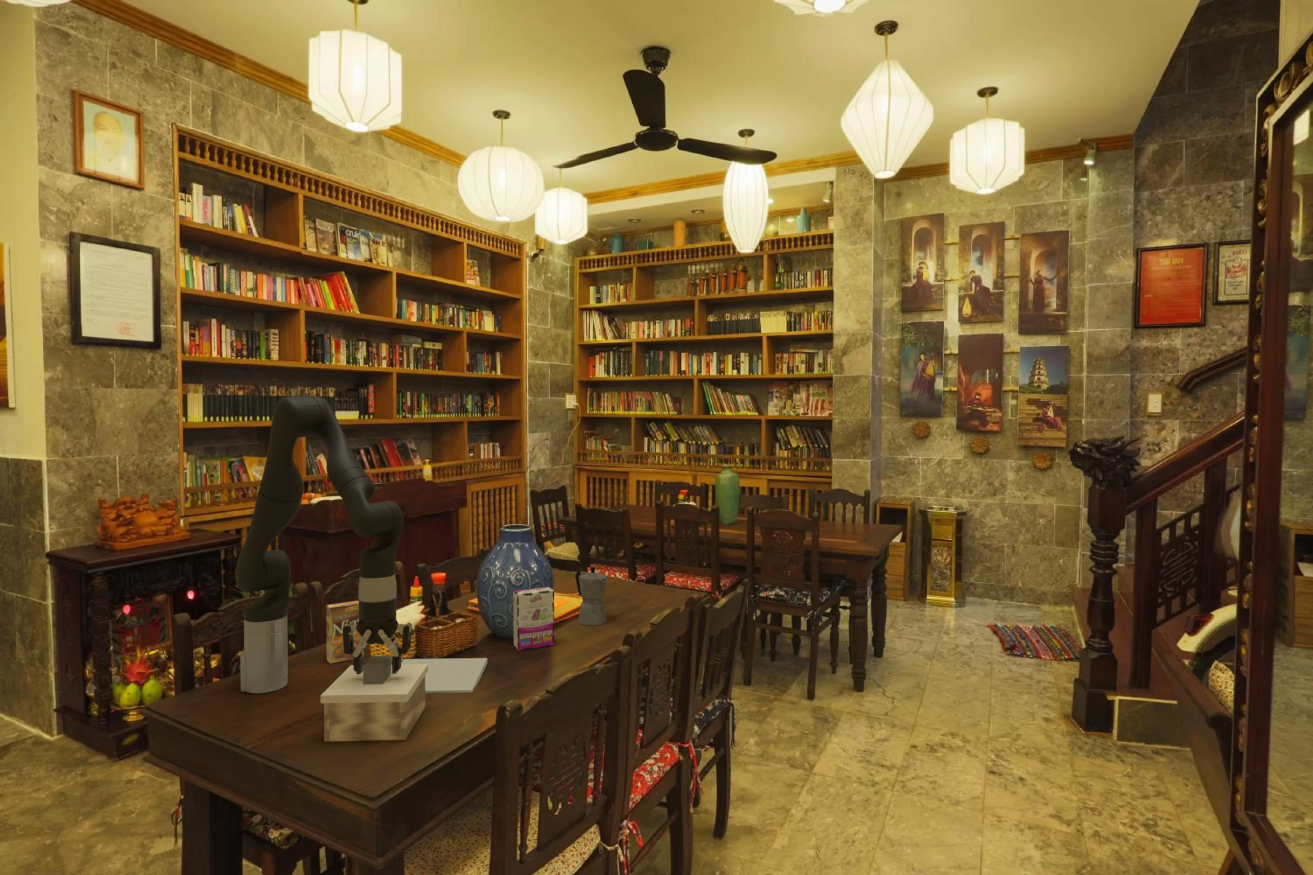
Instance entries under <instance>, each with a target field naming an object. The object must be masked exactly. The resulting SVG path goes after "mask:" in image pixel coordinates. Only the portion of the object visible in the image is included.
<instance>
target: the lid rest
mask: <svg viewBox="0 0 1313 875" xmlns="http://www.w3.org/2000/svg"><path fill="white" fill-rule="evenodd" d="M406 664H428V672H427V674H426V675H425V694H454V693H456V694H457V693H459V694H461V693H462V694H464V693H473V691H474V689H475V687H478V684H479V682H480V680H481V678H482V676H483V674H484V671H485V669H486V668H487V665H488V658H487V657H477V658H475V657H472V658H471V657H470V658H404V659H403V660H401V665H406Z"/></svg>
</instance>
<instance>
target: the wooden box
mask: <svg viewBox="0 0 1313 875" xmlns="http://www.w3.org/2000/svg"><path fill="white" fill-rule="evenodd" d="M425 709H426V693H425V676H424V678H423V679H422V681H421V682H420V684H419V685H418V687H417V688H416V690H415V691H414V693H413V694H412V696H411V697H410V699H409V700H408V702H373V703H323V720H324V721H323V725H324V726H323V728H324V730H323V732H324V733H323V737H324V738H323V741H324V743H325V742H329V743H330V742H361V741H362V742H364V741H365V742H367V741H370V742H372V741H376V742H377V741H406V740H407V738H408V737H409V735H410V733H411V731H412V730H413V728H414V727H415V725H416V723H417V722H418V720H419V718H420V716H421V715H422V714H423V711H424V710H425Z"/></svg>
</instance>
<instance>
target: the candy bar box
mask: <svg viewBox="0 0 1313 875" xmlns="http://www.w3.org/2000/svg"><path fill="white" fill-rule="evenodd" d="M529 589H530V590H528V589H519V590H513V591H512V593H513V594H512V595H513V596H512V601H513V602H512V603H513V604H512V605H513V607H512V608H513V613H512V614H513V618H512V619H513V647H514V646H515V647H516V648H515V647H514V648H515V649H516V651H518V652H520V650H521V651H527V650H533V649H539V648H547V647H551V646H555V590H554V589H553V588H551V586H548V587H547V586H546V587H538V589H536V588H529Z"/></svg>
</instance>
